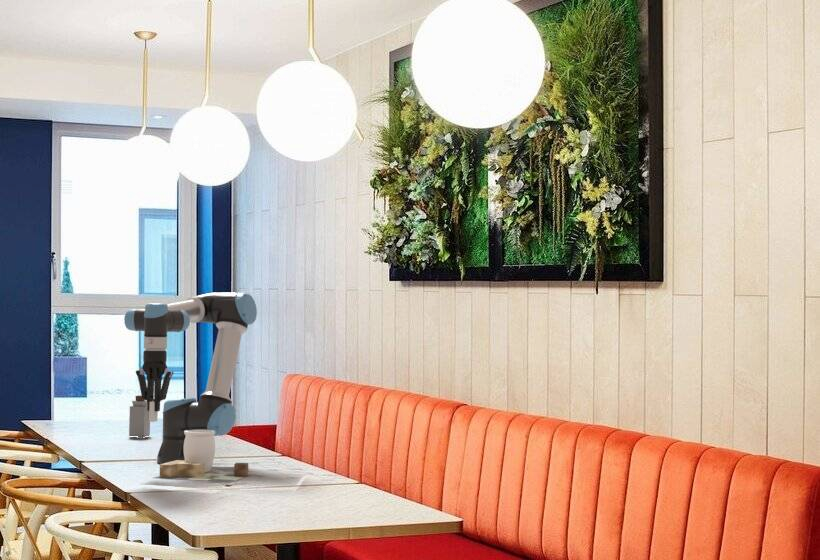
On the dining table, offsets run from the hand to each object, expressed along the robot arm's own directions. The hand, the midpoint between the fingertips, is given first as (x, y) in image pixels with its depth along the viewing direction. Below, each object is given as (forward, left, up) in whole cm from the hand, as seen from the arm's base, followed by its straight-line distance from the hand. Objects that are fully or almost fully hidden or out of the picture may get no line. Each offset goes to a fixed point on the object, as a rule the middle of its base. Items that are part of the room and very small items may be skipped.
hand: (153, 421), depth 369 cm
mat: (+19, 0, -18) cm, 26 cm away
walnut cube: (+29, +7, -17) cm, 34 cm away
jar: (+11, +13, -19) cm, 25 cm away
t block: (+12, 0, -17) cm, 21 cm away
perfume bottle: (-62, +103, -19) cm, 122 cm away
